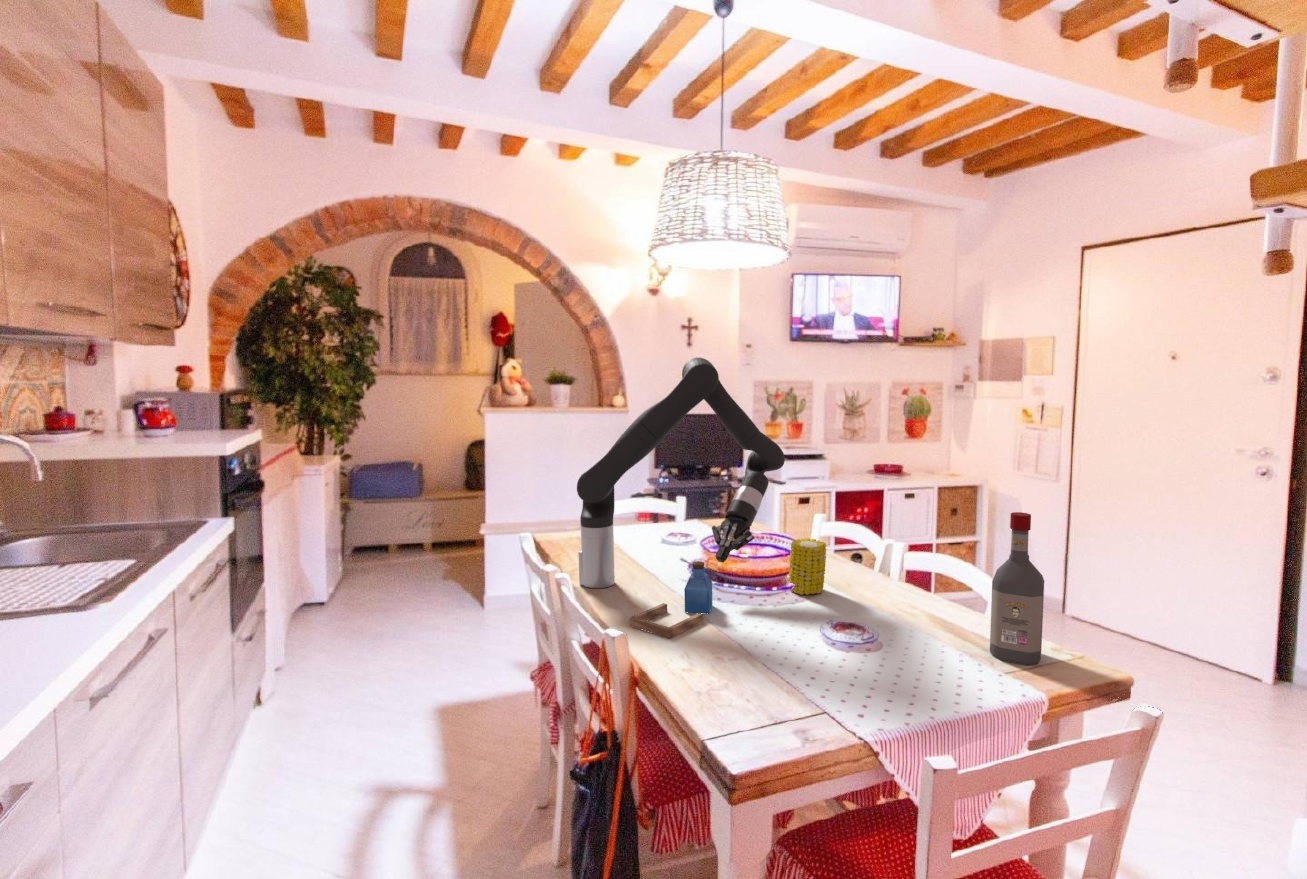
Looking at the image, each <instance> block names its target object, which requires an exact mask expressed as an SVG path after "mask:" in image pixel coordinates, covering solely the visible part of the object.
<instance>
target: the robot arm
mask: <svg viewBox="0 0 1307 879" xmlns="http://www.w3.org/2000/svg"><path fill="white" fill-rule="evenodd" d="M681 370H682V371H681V376H682V377H681V378H682V379H681V380H680V381H679V382H678V383H677V385H676V386H675V387H674V388H673V390H671V392H670V393H668V395H666V396H665V397H664V398H663V399H661V400H660V401H658V402H656V403H654V404H653V405H651V406H650V407H648V408H647V409H645V410H644V411H643V412H642V413H641V414H640V415H639V416H637V418H636V419H635V420H633V422H632V423H630V425H629V426H628V427H627V428H626V429H625V431H624V432H622V434H620V437H619V438H618V439H617V440H616V442H614V444H613V445H612V446H611V448H610V449H609V450H608V452H607V453H606V454H605V455H604V456H602V458H601V459H599V460H598V461H597V462H596V463H595V464H594V465H592V466H591V467H590V468H589V469H588V470H586V471H584V472H583V473H582V474H581V476H580V477H579V478H578V480H577V483H576V492H577V496H578V497H579V499H581V500H582V508H581V509H582V510H581V513H580V518H579V519H580V543H581V544H580V546H581V547H580V548H581V549H580V550H579V552H578V579H579V580H578V582H579V583H578V584H579V585H580V586H583V587H585V588H589V589H604V588H608V587H611V586H613V585H615V577H616V576H615V548H614V547H615V545H614V544H615V543H614V542H615V541H614V540H615V538H614V537H615V536H614V515H615V485H616V483H618V481H619V480H621V478H622V477H623V475H625V474H626V473H627V472H628V471H629V470H630V469H631V468H632V467H634V466H635V465H637V464H638V463H640V461H642V460H643V459H644V458H645V457H647V456H648V455H649V454H650V453H651V452H652V451H653V450H655V448H657V446H659V444H660V443H662V441H663V440H664V439H665V438H666V437H667V435H669V433H670V432H671V431H672V430H674V428H675V427H676V426H678V424H679V423H680V422H681V421H682V419H684V417H686V415H688V413H689V412H690V411H691V410H693V409H694V408H695V407H696V406H697V405H699V404H700V403H701V402H702V401H705V402H706V403H707V405H708V406H709V407H710V408H711V409H712V411H713V412H714V413H715V415H716V417H718V419H719V421H720V422H721V423H722V425H723V426H724V428H725V429H726V431H727V432H728V434H730V436H731V438H733V439H734V441H735V442H736V443H737V445H738V446H740V448H741V449H743V450H745V451H751V452H750V454H749V455H748V457H747V460H746V465H745V466H746V467H745V470H744V471H745V472H744V477H743V478H742V481H741V483H740V485H739V487H738V489H737V491H736V492H735V494H734V496H733V498H732V500H731V502H730V504H729V506H728V508H727V511H726V512H725V518H724V519H723V521H722V522H721V523H720V525H718V526H716V525H712V526H711V531H712V534H713V535H712V536H713V538H714V542H715V543H716V545H717V546H718V549H717V551H716V553H715V559H716V560H717V562H720V563H725V562H726V561H727V560H728V557H729V555H730V554H731V552H733V550H735V551H739V550H740V549H741V548H743V547H744V546H746V545H748V543H750V542H752V541H753V540H754V539H755V536H754V535H753V533H752V532H751V531H750V530H751V527H752V525H753V522H755V521H754V520H755V518H756V516H757V514H758V511H759V510H760V507H761V503H762V501H763V498H764V496H765V493H766V492H767V489H768V486H769V482H770V481H769V479H768V477H767V476H766V475H765V473H767V472H773V471H777V470H780V469H781V468H783V466H784V464H785V461H786V460H785V459H786V458H785V453H784V452H783V450H782V448H781V447H780V446H779V445H778V444H777V443H776V442H775V441H774V440H773V439H771V438H770V437H769V436H767V435H766V434H764V433H763V432H761V431H760V429H759V427H757V426H756V424H755V423H754V421H753V420H752V419H751V418H750V417H749V415H748V414H747V413H746V412H745V411H744V410H743V409H742V408H741V407H740V405H739V404H738V403H737V402H736V401H735V400H734V398H733V397H732V396H731V395H730V394H729V393H728V391H727V390H726V388H725V387H724V386H723V384H722V382H721V381H720V379H719V378H720V377H719V373H718V371H717V369H716V367H715V366H714V365H713V364H712V363H711V361H709V360H708V359H706V358H703V357H693V358H690V359H688V360H687V361H686V362H685V364H684V365H683V367H682V369H681Z"/></svg>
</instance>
